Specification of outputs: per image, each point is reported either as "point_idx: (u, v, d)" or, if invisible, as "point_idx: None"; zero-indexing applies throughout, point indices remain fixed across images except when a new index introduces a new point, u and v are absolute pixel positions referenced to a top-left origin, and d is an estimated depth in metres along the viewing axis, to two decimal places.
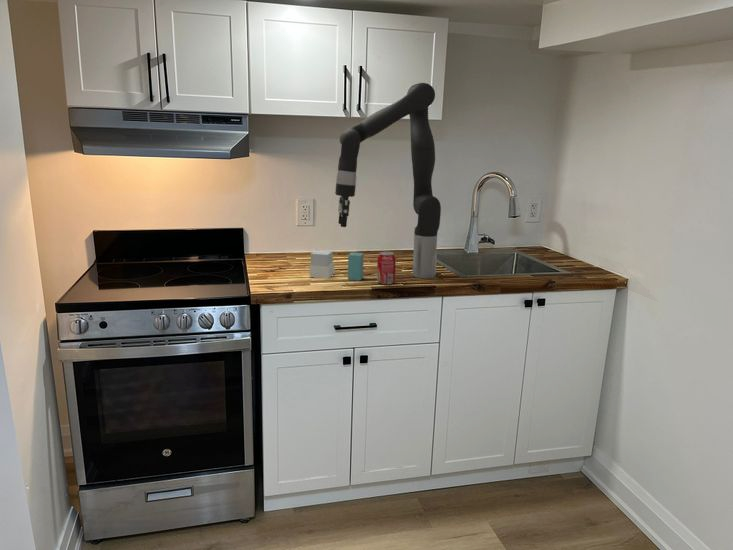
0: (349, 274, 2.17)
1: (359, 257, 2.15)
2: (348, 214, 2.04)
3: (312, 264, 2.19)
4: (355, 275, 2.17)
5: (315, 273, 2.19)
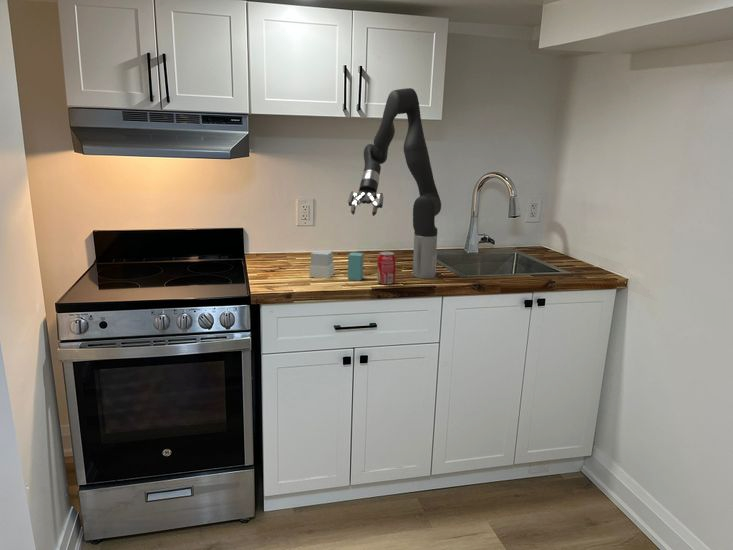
0: (349, 274, 2.17)
1: (359, 257, 2.15)
2: (348, 201, 2.27)
3: (312, 264, 2.19)
4: (355, 275, 2.17)
5: (315, 273, 2.19)
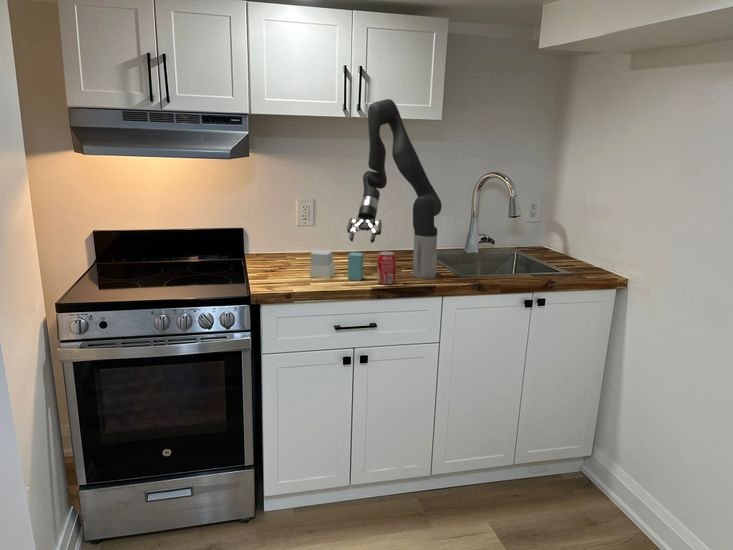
0: (349, 274, 2.17)
1: (359, 257, 2.15)
2: None
3: (312, 264, 2.19)
4: (355, 275, 2.17)
5: (315, 273, 2.19)
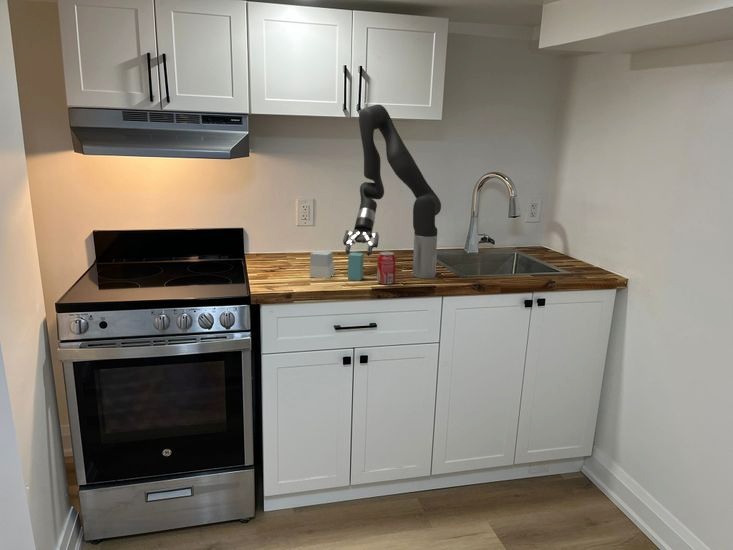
0: (349, 274, 2.17)
1: (359, 257, 2.15)
2: None
3: (312, 264, 2.18)
4: (355, 275, 2.17)
5: (315, 273, 2.19)
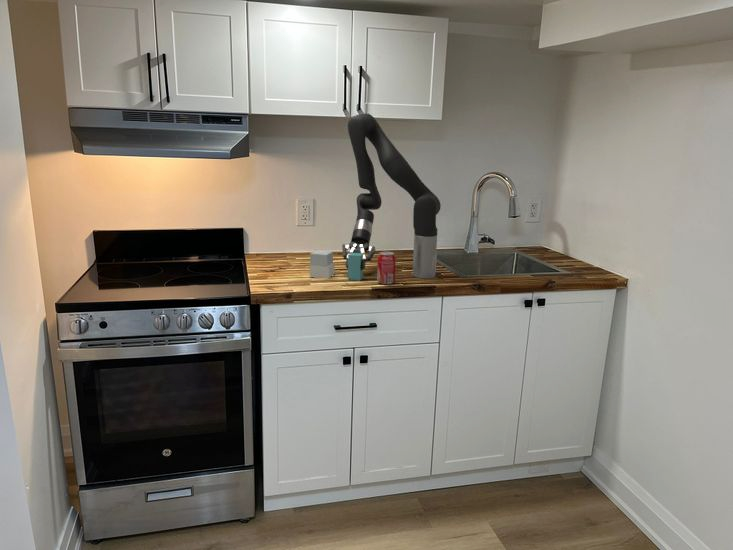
0: (349, 274, 2.17)
1: (359, 257, 2.14)
2: None
3: (312, 264, 2.19)
4: (354, 275, 2.17)
5: (315, 273, 2.19)
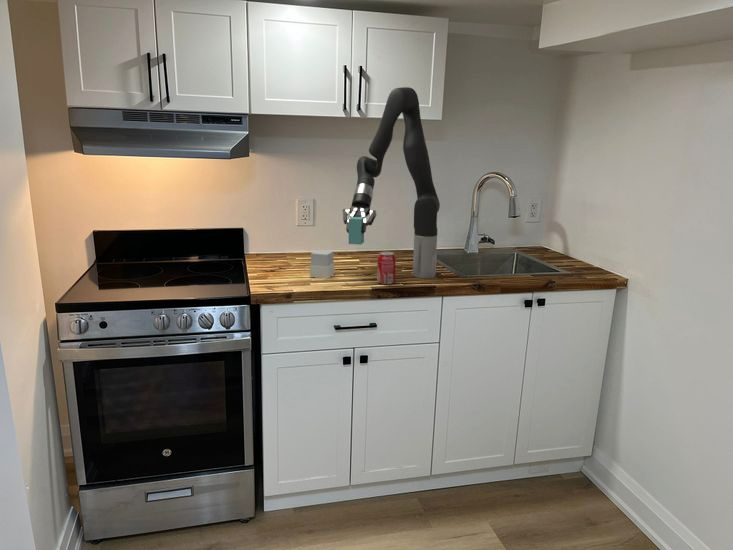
0: (350, 238, 2.14)
1: (360, 220, 2.11)
2: (343, 219, 2.16)
3: (312, 264, 2.19)
4: (355, 240, 2.13)
5: (315, 273, 2.19)
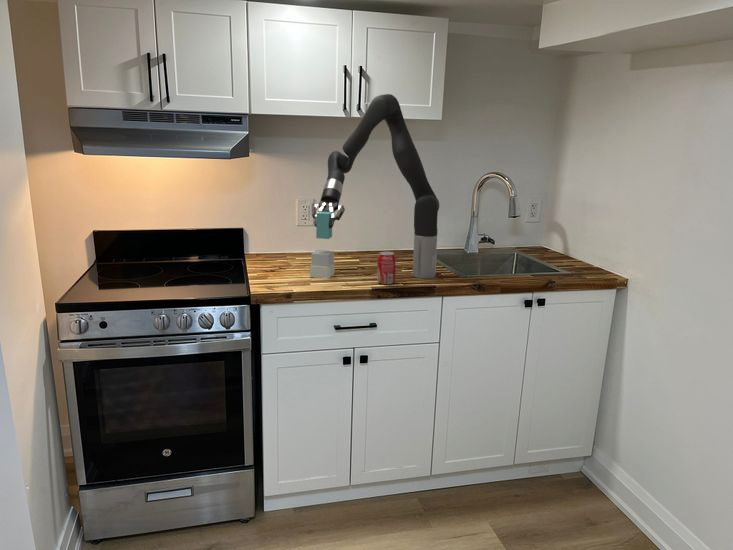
0: (317, 232, 2.16)
1: (327, 215, 2.13)
2: None
3: (313, 264, 2.19)
4: (323, 234, 2.16)
5: (315, 273, 2.19)
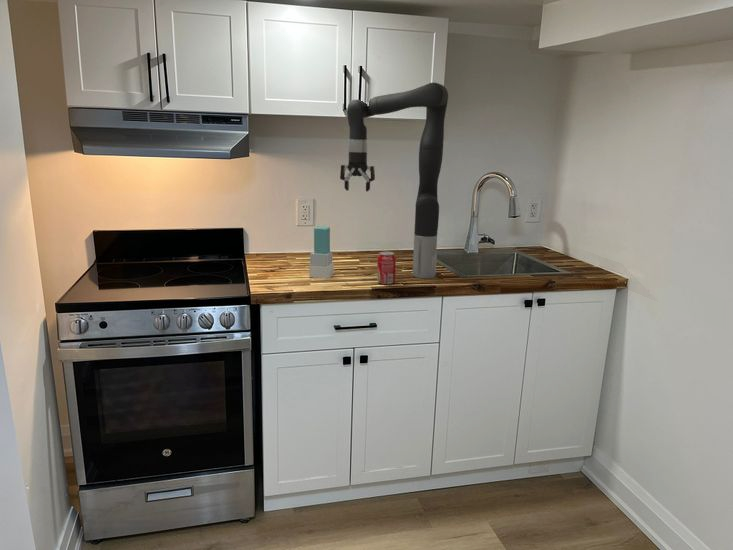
0: (315, 248, 2.17)
1: (325, 230, 2.15)
2: (340, 177, 2.27)
3: (311, 264, 2.18)
4: (321, 249, 2.17)
5: (315, 273, 2.18)
